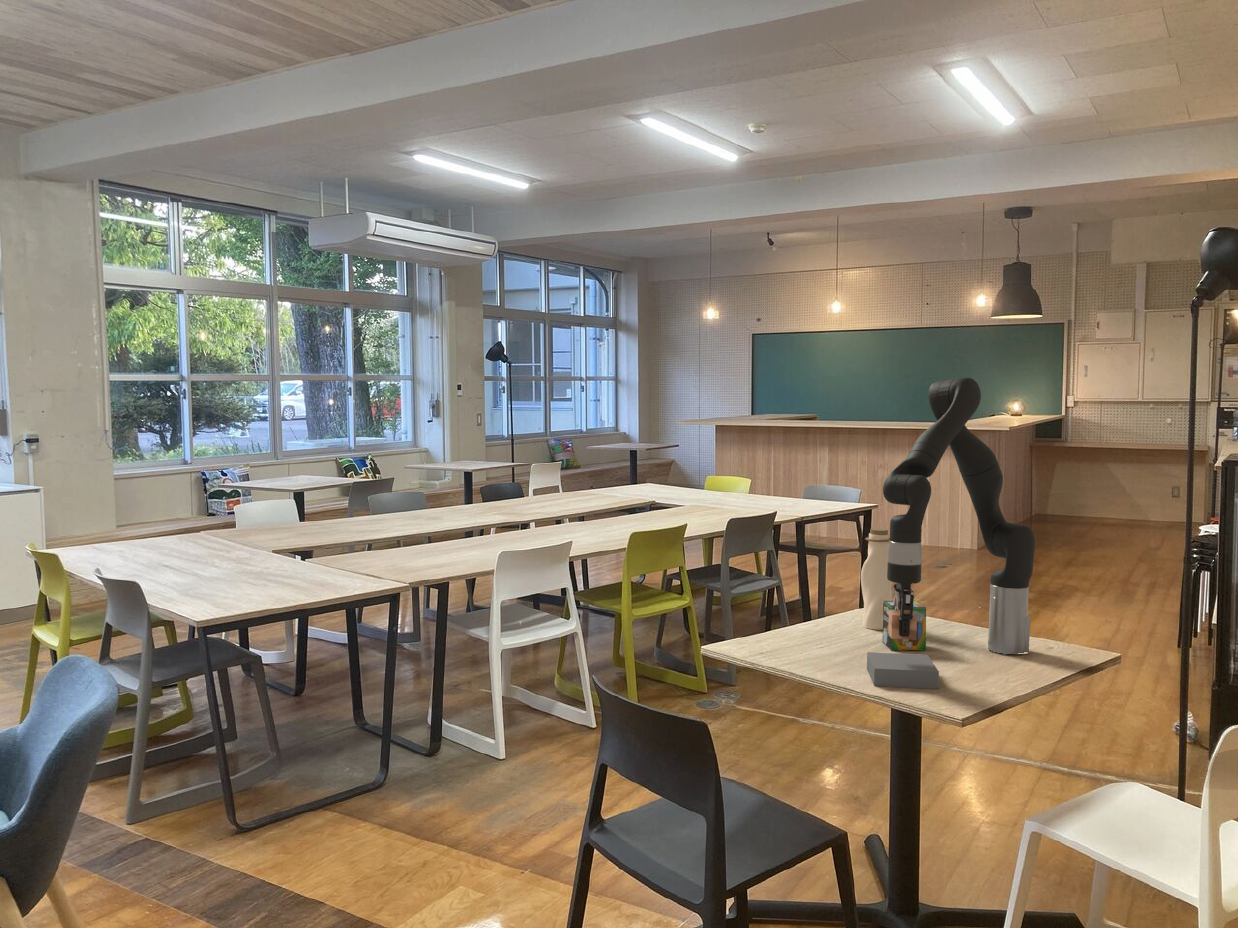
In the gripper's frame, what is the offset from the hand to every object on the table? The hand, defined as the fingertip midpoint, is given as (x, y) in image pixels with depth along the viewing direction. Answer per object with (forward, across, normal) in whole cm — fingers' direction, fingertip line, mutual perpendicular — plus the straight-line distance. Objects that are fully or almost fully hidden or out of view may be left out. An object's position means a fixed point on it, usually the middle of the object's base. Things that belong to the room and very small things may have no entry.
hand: (902, 632), depth 219 cm
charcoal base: (+11, 0, 0) cm, 11 cm away
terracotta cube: (+1, 0, 0) cm, 1 cm away
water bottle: (+11, +52, -1) cm, 53 cm away
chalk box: (+11, +30, -5) cm, 32 cm away
